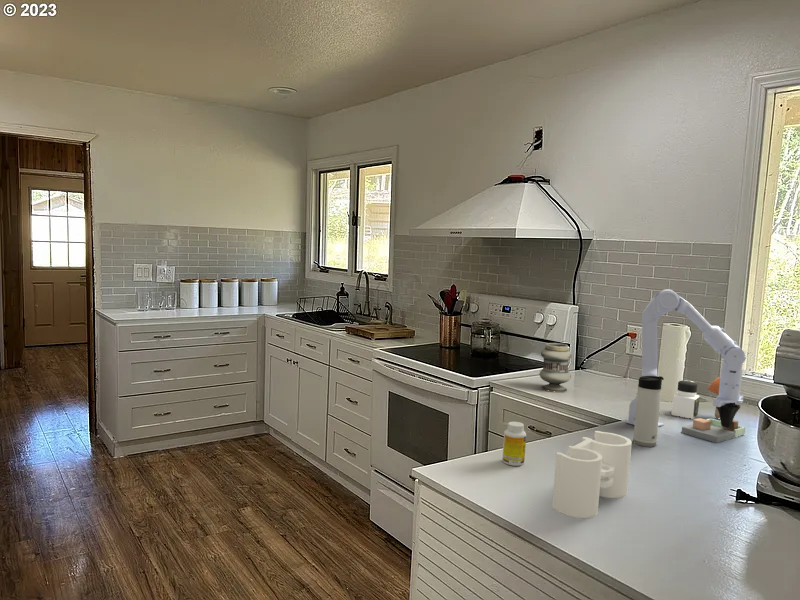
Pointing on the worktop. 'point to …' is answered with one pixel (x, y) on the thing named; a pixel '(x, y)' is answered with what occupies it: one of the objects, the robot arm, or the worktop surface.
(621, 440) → the bracket
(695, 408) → the medicine bottle
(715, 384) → the mushroom
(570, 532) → the worktop surface
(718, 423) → the sage tray
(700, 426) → the terracotta tile
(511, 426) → the supplement bottle
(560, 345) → the apothecary jar
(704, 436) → the slate board
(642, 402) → the travel mug
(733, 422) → the walnut tile
